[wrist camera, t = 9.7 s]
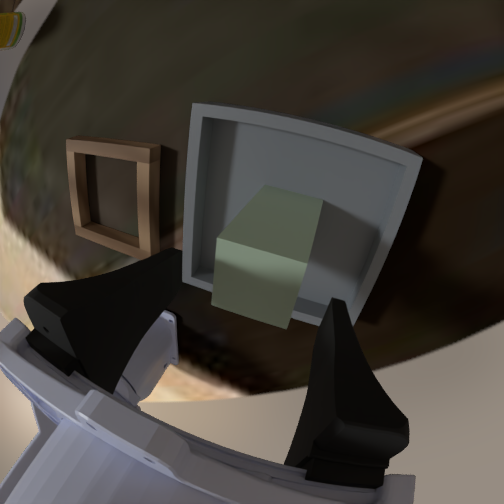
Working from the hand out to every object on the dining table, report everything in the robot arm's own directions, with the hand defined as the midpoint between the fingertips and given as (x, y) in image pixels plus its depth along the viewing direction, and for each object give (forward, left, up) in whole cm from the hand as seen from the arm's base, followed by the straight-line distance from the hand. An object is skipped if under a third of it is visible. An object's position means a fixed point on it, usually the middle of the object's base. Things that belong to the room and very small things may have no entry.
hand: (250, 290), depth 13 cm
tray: (0, 0, -9) cm, 9 cm away
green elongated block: (0, 0, -8) cm, 8 cm away
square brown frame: (-2, +16, -9) cm, 18 cm away
